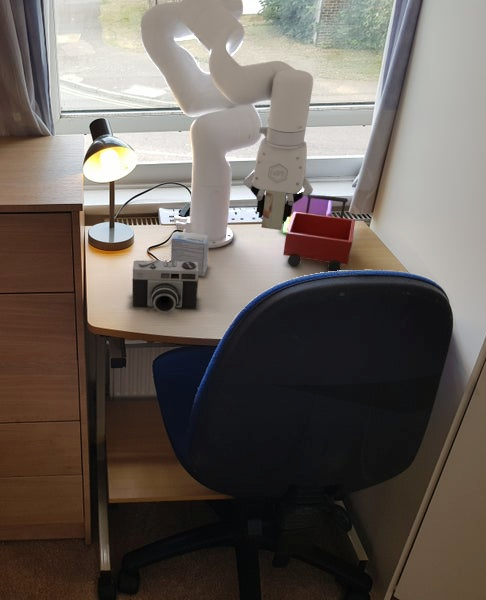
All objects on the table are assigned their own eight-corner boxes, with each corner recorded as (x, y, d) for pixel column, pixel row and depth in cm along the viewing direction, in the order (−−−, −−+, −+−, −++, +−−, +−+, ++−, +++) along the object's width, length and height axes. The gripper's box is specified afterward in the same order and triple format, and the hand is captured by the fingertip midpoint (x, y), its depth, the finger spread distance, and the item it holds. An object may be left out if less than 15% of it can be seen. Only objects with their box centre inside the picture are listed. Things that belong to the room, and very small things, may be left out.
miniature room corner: (332, 220, 168) (336, 196, 164) (330, 240, 159) (335, 215, 155) (286, 214, 171) (289, 191, 168) (281, 234, 162) (285, 209, 158)
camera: (126, 315, 132) (127, 272, 127) (135, 293, 140) (135, 253, 134) (193, 323, 129) (196, 280, 124) (198, 300, 137) (201, 259, 132)
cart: (281, 264, 149) (288, 215, 142) (289, 237, 160) (296, 191, 153) (345, 274, 144) (356, 224, 137) (349, 246, 156) (359, 198, 149)
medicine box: (207, 268, 148) (209, 235, 143) (203, 277, 144) (205, 243, 140) (174, 263, 150) (176, 230, 146) (170, 272, 147) (171, 239, 142)
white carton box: (263, 217, 141) (269, 175, 135) (283, 220, 140) (290, 177, 134) (260, 228, 137) (266, 184, 131) (280, 231, 136) (287, 187, 130)
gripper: (239, 136, 127) (230, 218, 137) (326, 146, 122) (310, 231, 132) (247, 125, 133) (238, 204, 143) (330, 134, 127) (315, 216, 138)
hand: (273, 216), depth 137 cm, fingers closed on white carton box, 4 cm apart
